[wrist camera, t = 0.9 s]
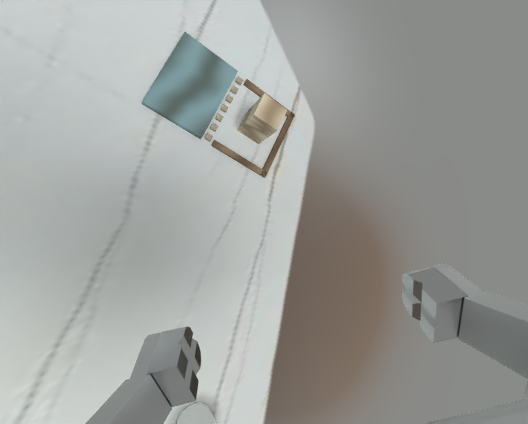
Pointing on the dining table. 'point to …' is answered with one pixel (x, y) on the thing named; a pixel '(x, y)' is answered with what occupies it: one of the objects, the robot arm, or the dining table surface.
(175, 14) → the dining table surface
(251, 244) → the dining table surface
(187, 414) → the white cylinder
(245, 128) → the birch stub block
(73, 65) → the dining table surface
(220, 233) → the dining table surface
